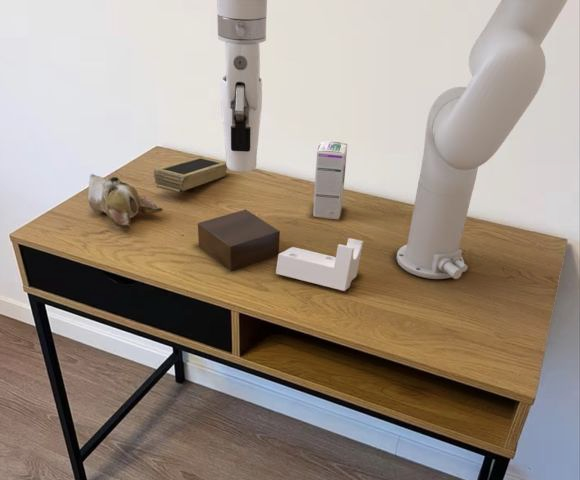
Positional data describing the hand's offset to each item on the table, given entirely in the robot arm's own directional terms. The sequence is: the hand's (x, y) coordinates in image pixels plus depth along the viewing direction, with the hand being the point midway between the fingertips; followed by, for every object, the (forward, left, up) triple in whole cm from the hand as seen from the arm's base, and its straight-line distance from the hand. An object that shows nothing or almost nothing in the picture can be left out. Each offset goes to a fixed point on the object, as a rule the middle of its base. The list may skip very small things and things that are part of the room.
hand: (241, 142), depth 109 cm
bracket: (-14, -9, -21) cm, 27 cm away
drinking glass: (0, 0, -5) cm, 5 cm away
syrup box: (+8, -23, -21) cm, 32 cm away
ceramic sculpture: (+21, +18, -21) cm, 35 cm away
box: (+32, -2, -21) cm, 38 cm away
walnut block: (0, +1, -21) cm, 21 cm away
